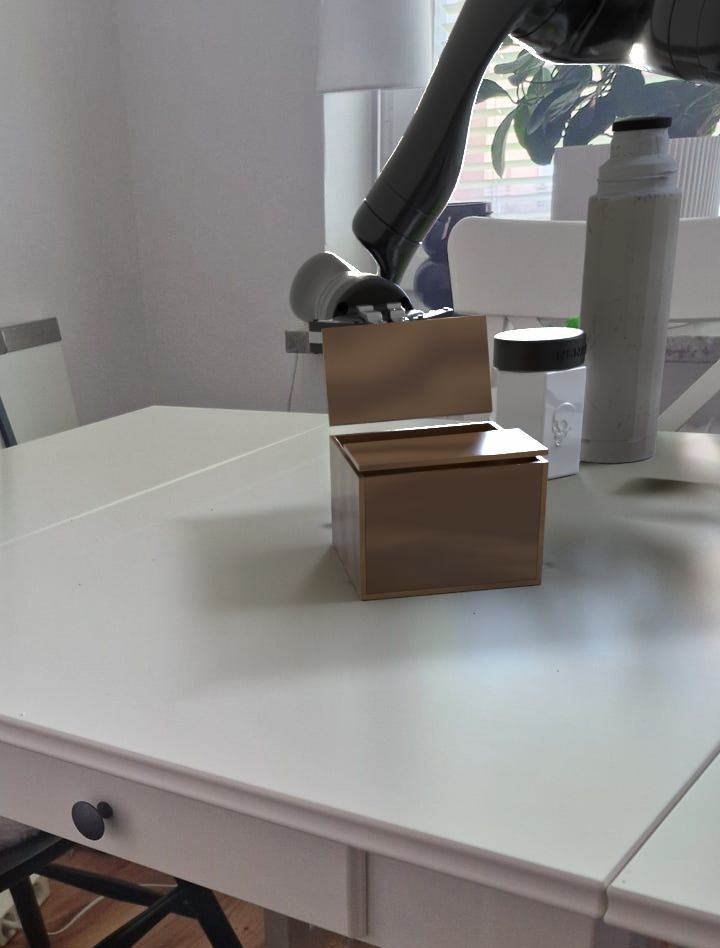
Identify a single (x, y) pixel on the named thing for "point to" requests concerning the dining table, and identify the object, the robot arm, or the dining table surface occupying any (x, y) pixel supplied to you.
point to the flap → (407, 370)
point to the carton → (438, 509)
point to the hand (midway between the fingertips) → (400, 343)
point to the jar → (542, 390)
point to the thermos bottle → (628, 291)
